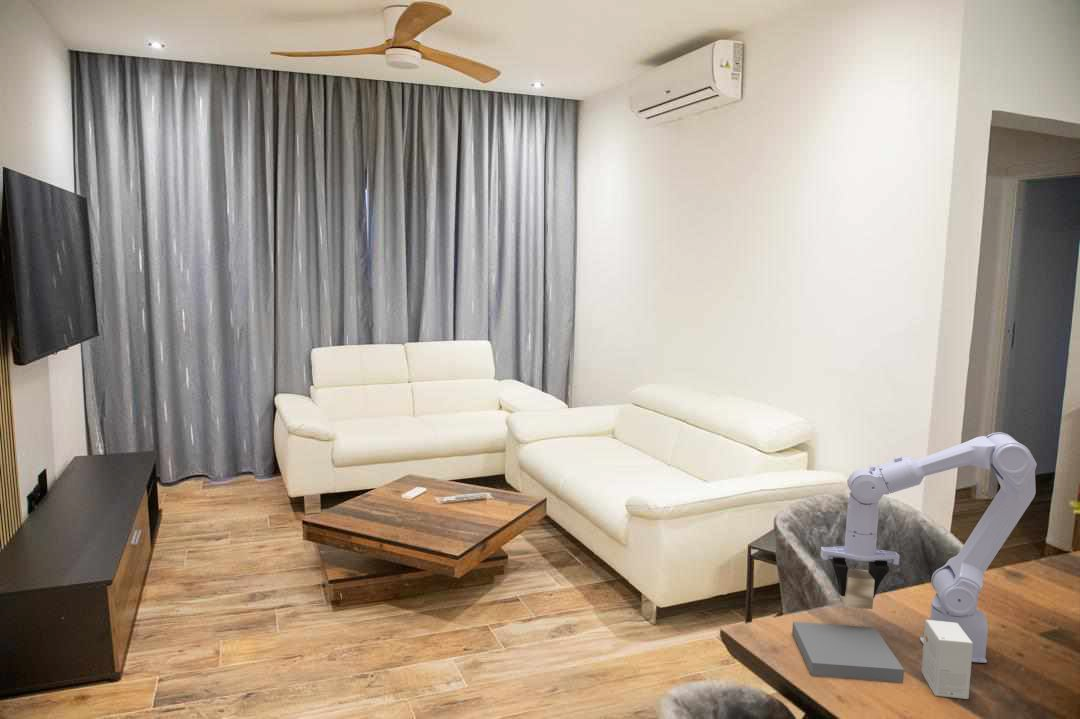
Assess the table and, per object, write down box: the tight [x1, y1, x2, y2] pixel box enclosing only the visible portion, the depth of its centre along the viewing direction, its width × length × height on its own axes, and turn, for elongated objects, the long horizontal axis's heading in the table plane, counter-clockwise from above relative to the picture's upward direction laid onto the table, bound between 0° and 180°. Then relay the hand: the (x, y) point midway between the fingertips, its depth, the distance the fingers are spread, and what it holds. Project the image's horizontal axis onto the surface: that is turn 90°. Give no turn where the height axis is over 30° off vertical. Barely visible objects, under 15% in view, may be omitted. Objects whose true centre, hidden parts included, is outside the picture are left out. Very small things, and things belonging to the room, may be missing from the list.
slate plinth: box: [791, 621, 905, 684], centre depth 144 cm, size 16×16×2 cm
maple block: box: [839, 568, 875, 610], centre depth 150 cm, size 5×5×6 cm
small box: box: [920, 619, 973, 700], centre depth 134 cm, size 8×6×10 cm
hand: (856, 595), depth 150 cm, fingers closed on maple block, 5 cm apart
